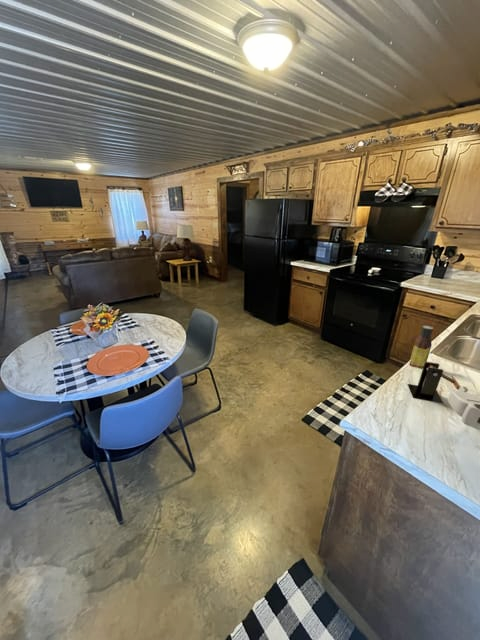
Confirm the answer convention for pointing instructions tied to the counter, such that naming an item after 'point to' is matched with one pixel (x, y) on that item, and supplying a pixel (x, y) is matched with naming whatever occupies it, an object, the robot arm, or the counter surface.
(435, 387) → the bracket
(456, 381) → the lever
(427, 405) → the counter surface
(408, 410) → the counter surface
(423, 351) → the sauce bottle
